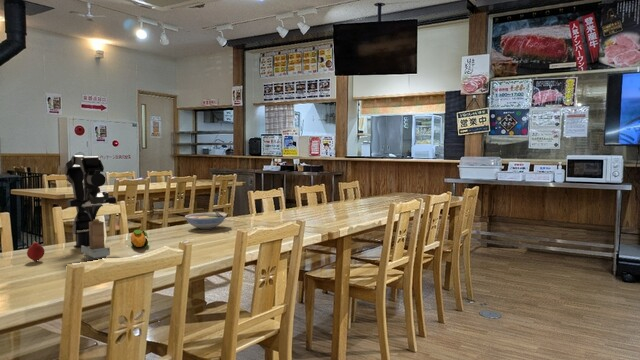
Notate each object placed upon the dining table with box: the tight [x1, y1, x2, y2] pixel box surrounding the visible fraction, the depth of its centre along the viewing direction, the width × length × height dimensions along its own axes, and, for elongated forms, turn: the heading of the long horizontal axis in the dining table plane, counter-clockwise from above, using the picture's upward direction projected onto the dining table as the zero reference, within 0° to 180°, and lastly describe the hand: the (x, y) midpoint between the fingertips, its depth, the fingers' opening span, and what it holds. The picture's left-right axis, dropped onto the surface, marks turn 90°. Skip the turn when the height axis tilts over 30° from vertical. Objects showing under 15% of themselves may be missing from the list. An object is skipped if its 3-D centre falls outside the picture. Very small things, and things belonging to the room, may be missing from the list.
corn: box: [130, 229, 149, 249], centre depth 206 cm, size 7×8×20 cm
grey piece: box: [80, 246, 111, 261], centre depth 184 cm, size 14×8×5 cm, turn 46°
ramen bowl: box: [184, 211, 228, 230], centre depth 254 cm, size 25×23×8 cm
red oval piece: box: [26, 241, 45, 262], centre depth 180 cm, size 6×6×8 cm
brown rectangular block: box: [89, 218, 106, 249], centre depth 182 cm, size 5×4×12 cm
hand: (92, 221), depth 198 cm, fingers closed
